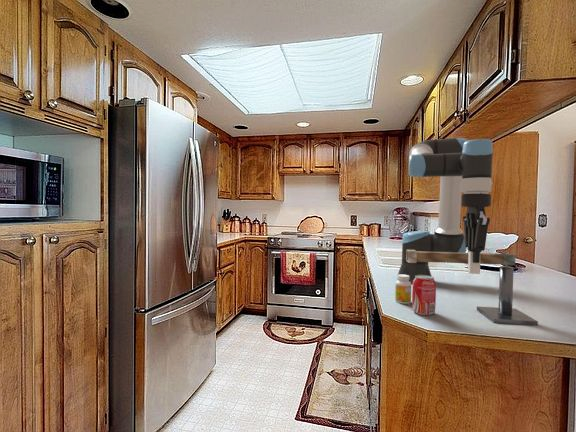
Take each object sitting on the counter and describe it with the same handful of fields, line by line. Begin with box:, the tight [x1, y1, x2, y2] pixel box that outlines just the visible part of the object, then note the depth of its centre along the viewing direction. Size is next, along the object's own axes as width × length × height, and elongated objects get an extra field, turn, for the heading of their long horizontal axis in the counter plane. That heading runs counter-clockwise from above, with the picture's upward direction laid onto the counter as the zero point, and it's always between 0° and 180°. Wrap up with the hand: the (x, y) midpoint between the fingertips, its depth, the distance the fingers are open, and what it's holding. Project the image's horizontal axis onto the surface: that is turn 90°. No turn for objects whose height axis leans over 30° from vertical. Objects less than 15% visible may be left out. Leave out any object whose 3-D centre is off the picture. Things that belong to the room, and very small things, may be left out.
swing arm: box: [406, 250, 517, 266], centre depth 103 cm, size 32×4×4 cm, turn 81°
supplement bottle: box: [394, 274, 412, 305], centre depth 117 cm, size 5×5×10 cm
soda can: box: [411, 275, 437, 316], centre depth 105 cm, size 7×7×12 cm
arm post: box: [476, 265, 539, 326], centre depth 102 cm, size 12×12×16 cm
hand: (473, 273), depth 95 cm, fingers closed
